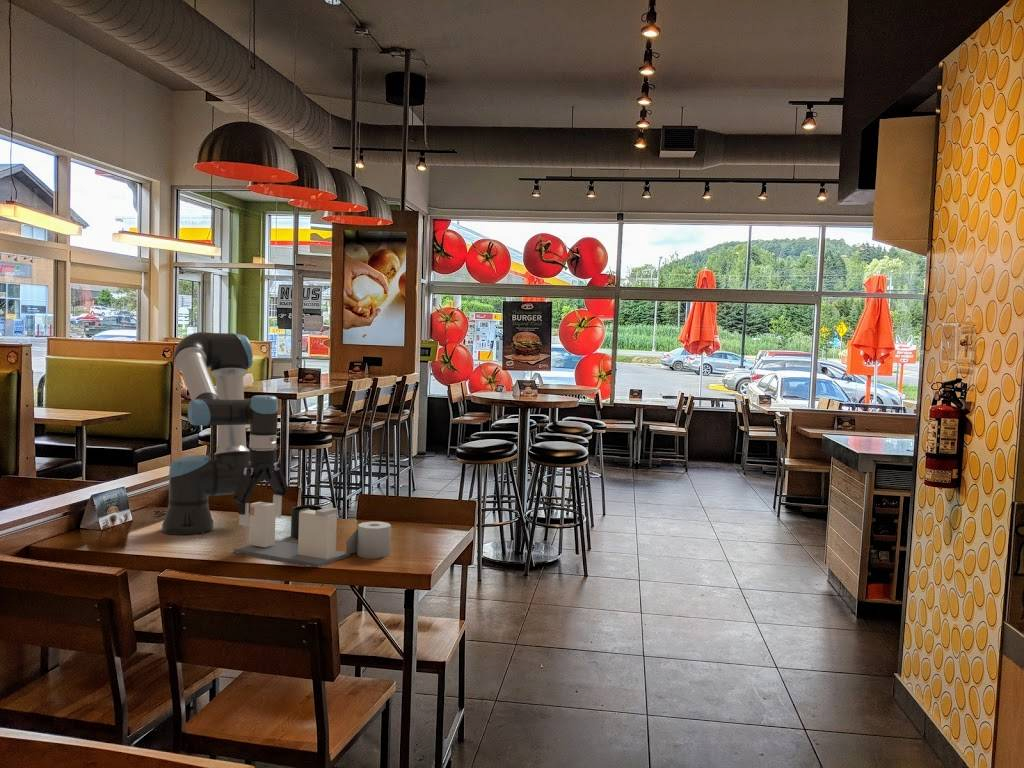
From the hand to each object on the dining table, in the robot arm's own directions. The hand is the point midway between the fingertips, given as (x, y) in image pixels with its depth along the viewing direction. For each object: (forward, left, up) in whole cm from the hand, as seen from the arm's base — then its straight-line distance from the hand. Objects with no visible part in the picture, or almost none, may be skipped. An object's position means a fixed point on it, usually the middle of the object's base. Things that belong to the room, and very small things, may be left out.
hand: (260, 520), depth 225 cm
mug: (+3, +19, -8) cm, 21 cm away
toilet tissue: (+30, +11, -8) cm, 33 cm away
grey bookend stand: (+12, 0, -8) cm, 14 cm away
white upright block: (+1, 0, -7) cm, 7 cm away
